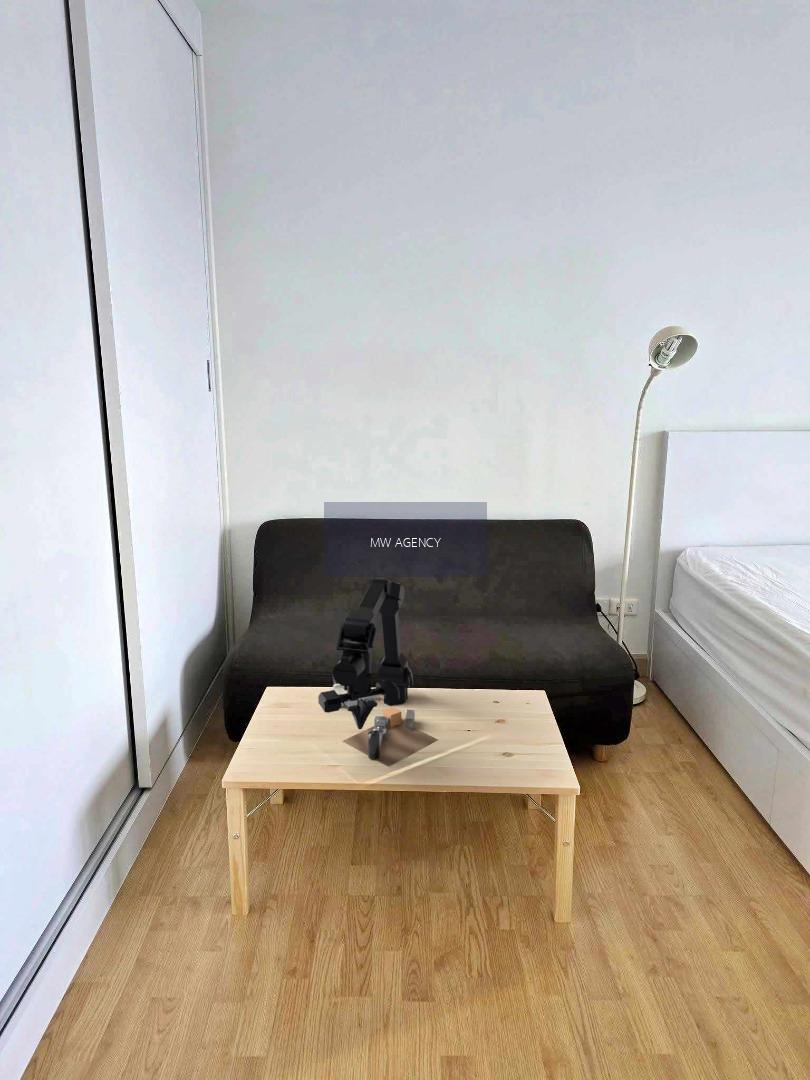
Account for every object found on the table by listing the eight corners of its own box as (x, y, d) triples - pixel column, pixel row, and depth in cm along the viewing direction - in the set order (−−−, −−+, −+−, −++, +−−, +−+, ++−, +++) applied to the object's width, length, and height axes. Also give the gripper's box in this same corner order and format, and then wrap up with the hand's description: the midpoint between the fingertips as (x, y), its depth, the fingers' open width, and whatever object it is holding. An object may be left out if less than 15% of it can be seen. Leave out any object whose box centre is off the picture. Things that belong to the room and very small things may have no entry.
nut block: (393, 718, 199) (393, 706, 198) (401, 723, 196) (401, 711, 195) (383, 722, 197) (383, 710, 196) (390, 727, 194) (390, 715, 193)
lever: (388, 724, 195) (388, 703, 193) (380, 759, 178) (380, 736, 177) (375, 724, 195) (375, 702, 194) (365, 758, 178) (365, 735, 177)
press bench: (398, 717, 202) (398, 702, 200) (444, 739, 190) (445, 723, 189) (342, 744, 187) (342, 728, 186) (388, 770, 176) (388, 753, 175)
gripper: (383, 649, 183) (383, 707, 186) (310, 661, 175) (312, 720, 179) (400, 666, 173) (400, 726, 176) (324, 679, 166) (326, 742, 169)
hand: (359, 728), depth 176 cm, fingers closed
